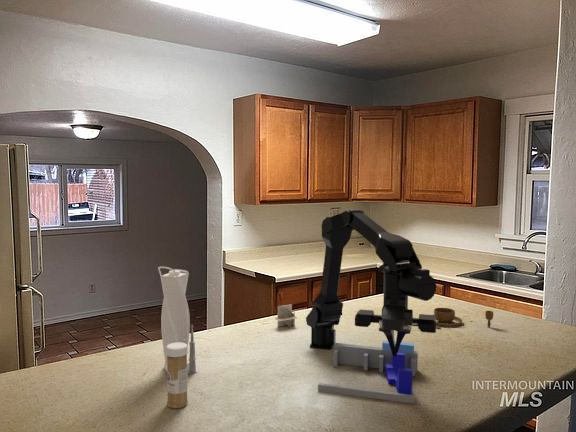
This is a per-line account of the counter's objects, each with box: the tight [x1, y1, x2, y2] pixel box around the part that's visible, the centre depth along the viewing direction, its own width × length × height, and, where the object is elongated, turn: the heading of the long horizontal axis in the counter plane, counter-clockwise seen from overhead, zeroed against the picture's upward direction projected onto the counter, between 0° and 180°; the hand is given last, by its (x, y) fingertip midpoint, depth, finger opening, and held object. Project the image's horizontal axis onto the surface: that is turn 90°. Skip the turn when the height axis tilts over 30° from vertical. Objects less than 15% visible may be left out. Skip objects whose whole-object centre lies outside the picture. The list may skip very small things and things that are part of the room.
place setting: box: [433, 307, 494, 330], centre depth 166 cm, size 18×20×6 cm
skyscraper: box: [157, 266, 198, 376], centre depth 125 cm, size 8×8×28 cm
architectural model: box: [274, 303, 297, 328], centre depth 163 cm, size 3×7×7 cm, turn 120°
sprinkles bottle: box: [166, 342, 189, 409], centre depth 106 cm, size 5×5×13 cm
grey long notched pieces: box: [317, 340, 419, 404], centre depth 120 cm, size 22×20×7 cm
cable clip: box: [384, 353, 413, 395], centre depth 117 cm, size 12×4×6 cm, turn 176°
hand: (394, 355), depth 116 cm, fingers closed
